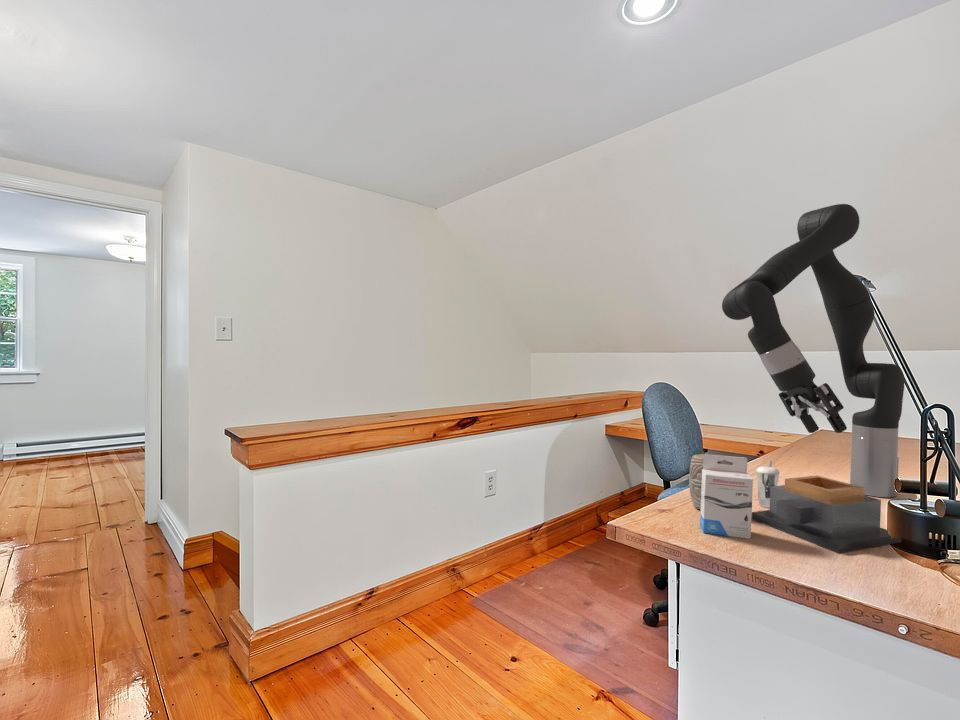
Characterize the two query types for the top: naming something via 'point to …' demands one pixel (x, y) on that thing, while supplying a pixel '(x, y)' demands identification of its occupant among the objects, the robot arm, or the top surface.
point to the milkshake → (766, 483)
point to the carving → (696, 479)
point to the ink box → (726, 497)
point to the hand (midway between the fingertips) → (827, 431)
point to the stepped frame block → (826, 514)
